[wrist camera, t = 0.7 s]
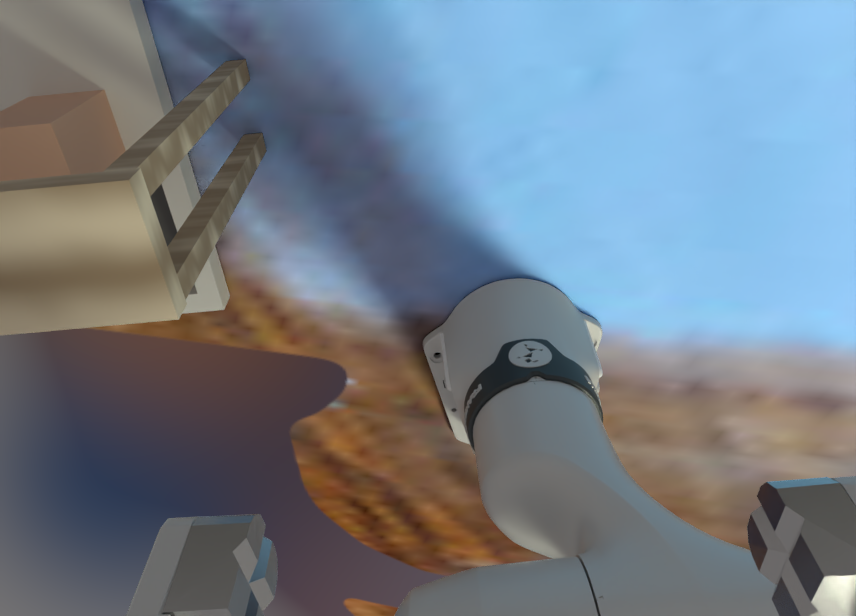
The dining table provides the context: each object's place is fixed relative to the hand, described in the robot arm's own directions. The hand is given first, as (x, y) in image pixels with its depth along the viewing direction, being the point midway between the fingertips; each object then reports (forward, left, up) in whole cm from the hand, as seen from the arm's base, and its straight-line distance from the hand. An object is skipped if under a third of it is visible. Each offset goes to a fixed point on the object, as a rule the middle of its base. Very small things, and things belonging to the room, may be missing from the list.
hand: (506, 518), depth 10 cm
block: (-5, +28, -45) cm, 53 cm away
